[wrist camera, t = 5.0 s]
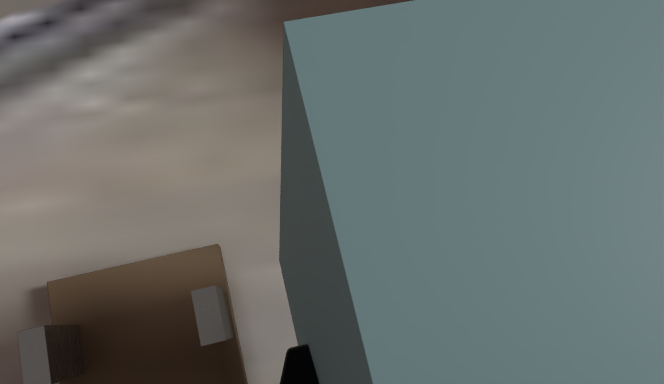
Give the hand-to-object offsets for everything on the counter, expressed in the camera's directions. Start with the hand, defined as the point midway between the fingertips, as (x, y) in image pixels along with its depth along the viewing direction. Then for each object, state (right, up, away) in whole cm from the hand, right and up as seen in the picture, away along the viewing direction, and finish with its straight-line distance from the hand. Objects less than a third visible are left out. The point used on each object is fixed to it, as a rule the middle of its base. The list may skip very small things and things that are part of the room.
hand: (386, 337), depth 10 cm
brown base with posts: (-8, -4, +10) cm, 14 cm away
